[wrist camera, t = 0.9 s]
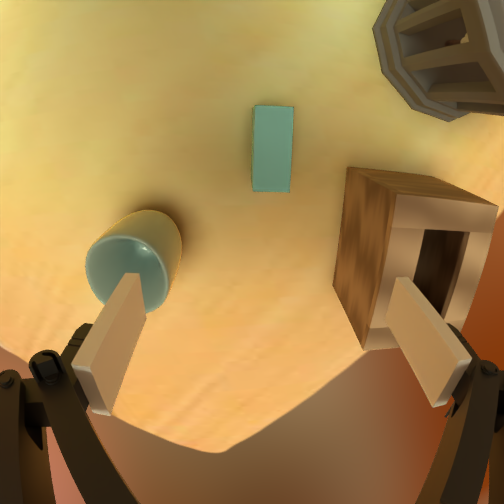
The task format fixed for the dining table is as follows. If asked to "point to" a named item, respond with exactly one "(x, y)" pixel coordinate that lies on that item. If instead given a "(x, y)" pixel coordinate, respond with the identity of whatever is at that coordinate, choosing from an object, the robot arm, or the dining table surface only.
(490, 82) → the lantern
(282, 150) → the block
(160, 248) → the cup
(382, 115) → the dining table surface
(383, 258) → the coin box
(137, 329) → the robot arm
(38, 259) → the dining table surface
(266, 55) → the dining table surface
